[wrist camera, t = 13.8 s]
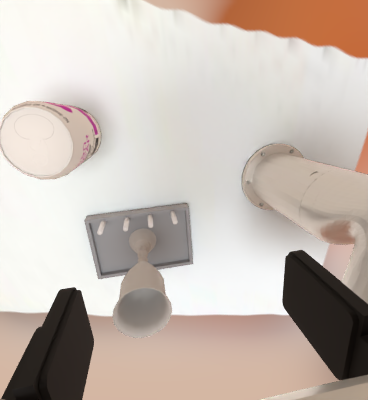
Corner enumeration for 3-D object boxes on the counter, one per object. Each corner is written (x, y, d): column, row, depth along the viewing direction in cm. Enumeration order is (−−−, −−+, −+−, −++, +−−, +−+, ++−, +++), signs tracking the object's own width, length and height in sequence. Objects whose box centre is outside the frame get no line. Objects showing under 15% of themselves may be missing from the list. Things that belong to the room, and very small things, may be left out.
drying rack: (186, 203, 45) (192, 215, 40) (191, 258, 49) (197, 276, 44) (87, 216, 43) (78, 230, 37) (100, 272, 47) (94, 293, 41)
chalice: (130, 218, 43) (122, 282, 27) (166, 228, 45) (180, 293, 28) (119, 253, 45) (105, 333, 28) (154, 261, 47) (160, 341, 30)
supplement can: (42, 106, 37) (-20, 99, 23) (99, 107, 38) (74, 101, 24) (51, 160, 39) (0, 183, 25) (104, 159, 40) (83, 181, 26)
